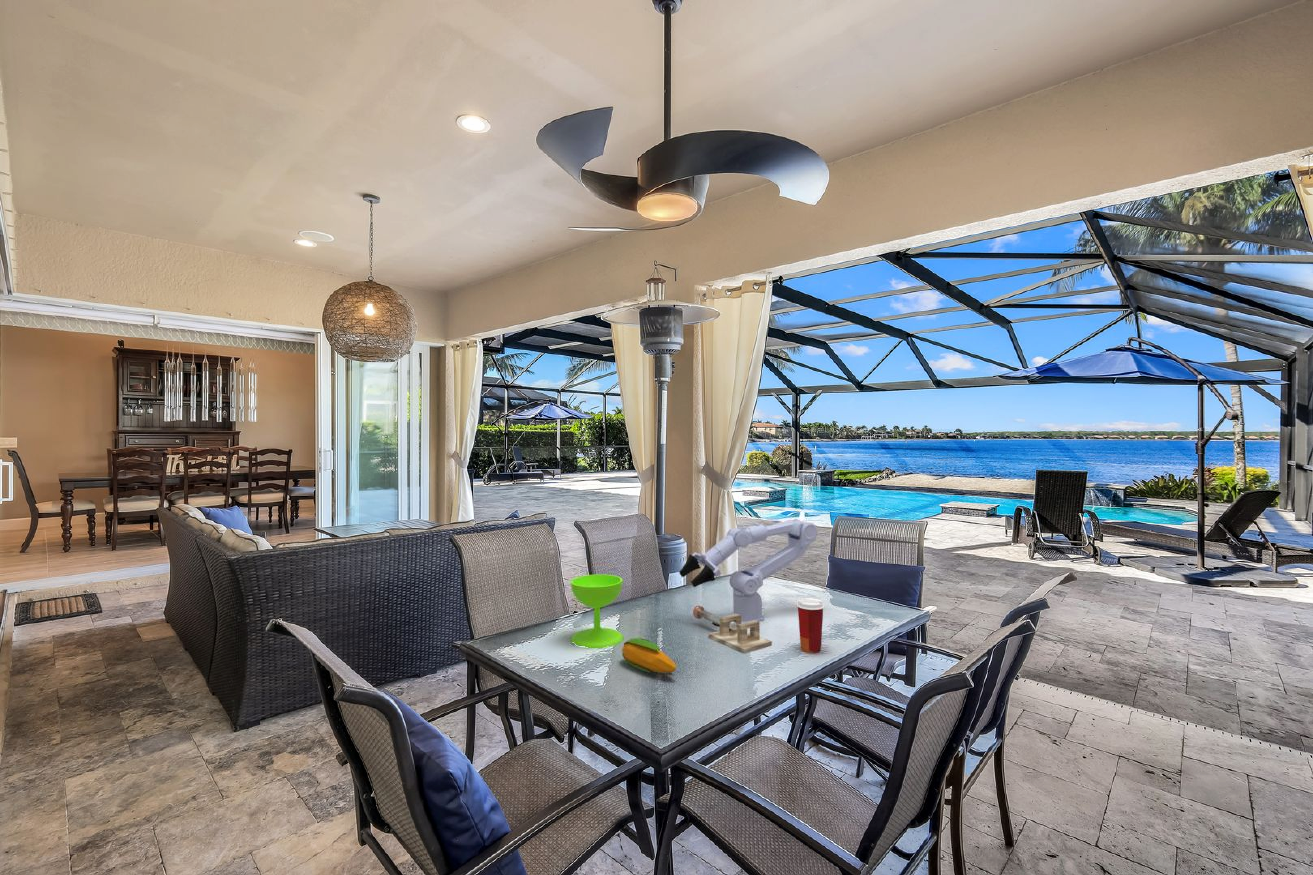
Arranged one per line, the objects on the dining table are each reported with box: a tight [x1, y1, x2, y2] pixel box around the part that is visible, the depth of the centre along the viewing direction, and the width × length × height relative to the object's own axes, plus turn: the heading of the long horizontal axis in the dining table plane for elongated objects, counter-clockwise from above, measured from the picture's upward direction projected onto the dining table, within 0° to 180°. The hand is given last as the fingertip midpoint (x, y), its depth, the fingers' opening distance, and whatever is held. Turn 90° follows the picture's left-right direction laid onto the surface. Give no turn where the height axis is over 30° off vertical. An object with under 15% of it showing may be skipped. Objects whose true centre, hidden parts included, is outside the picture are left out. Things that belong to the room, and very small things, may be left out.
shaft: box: [692, 605, 738, 630], centre depth 180 cm, size 18×4×4 cm, turn 34°
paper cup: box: [796, 597, 825, 654], centre depth 164 cm, size 8×8×14 cm
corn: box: [621, 637, 677, 674], centre depth 150 cm, size 7×8×20 cm
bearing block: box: [707, 614, 773, 654], centre depth 171 cm, size 16×11×6 cm
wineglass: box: [570, 573, 624, 649], centre depth 174 cm, size 16×16×18 cm
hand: (686, 579), depth 184 cm, fingers open, 7 cm apart
